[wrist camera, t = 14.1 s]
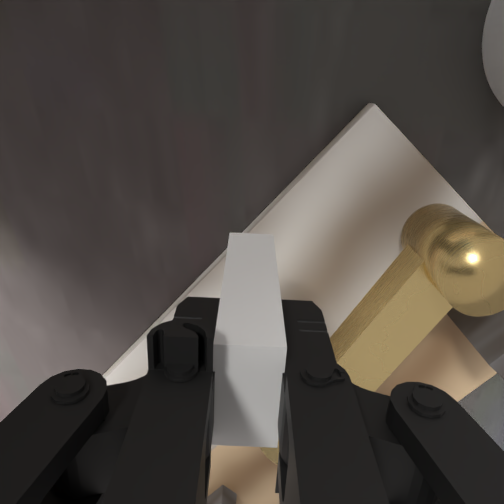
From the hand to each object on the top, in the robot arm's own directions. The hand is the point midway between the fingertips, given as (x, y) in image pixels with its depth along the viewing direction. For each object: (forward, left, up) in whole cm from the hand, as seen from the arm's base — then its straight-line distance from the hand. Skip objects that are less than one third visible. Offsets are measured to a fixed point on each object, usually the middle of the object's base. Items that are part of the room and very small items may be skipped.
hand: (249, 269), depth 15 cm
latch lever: (+8, 0, -5) cm, 9 cm away
